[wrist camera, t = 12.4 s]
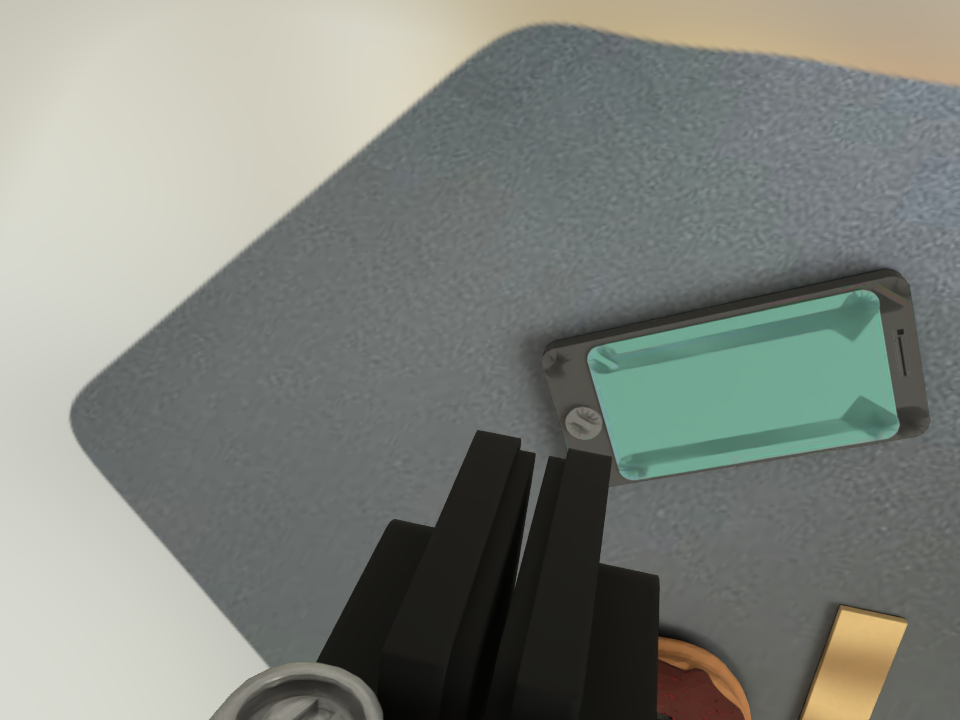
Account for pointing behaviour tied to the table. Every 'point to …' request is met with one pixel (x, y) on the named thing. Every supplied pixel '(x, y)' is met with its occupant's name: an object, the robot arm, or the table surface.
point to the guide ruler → (853, 665)
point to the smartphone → (745, 380)
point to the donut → (697, 684)
